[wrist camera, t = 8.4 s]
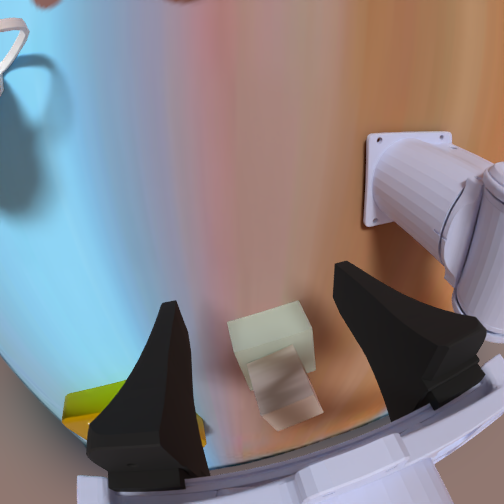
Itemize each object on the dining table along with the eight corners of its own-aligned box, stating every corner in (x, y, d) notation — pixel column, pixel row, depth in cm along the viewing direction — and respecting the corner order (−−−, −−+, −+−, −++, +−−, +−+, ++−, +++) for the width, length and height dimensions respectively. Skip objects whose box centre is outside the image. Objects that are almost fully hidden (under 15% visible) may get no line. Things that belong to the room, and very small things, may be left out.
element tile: (153, 369, 31) (154, 406, 27) (207, 421, 39) (212, 449, 35) (59, 393, 30) (54, 424, 27) (123, 438, 39) (124, 464, 35)
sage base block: (297, 298, 29) (312, 328, 26) (303, 342, 33) (315, 370, 30) (226, 320, 29) (233, 352, 25) (242, 361, 33) (250, 390, 29)
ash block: (292, 344, 26) (313, 394, 22) (304, 367, 29) (323, 412, 24) (246, 364, 26) (261, 415, 22) (263, 385, 29) (277, 431, 24)
